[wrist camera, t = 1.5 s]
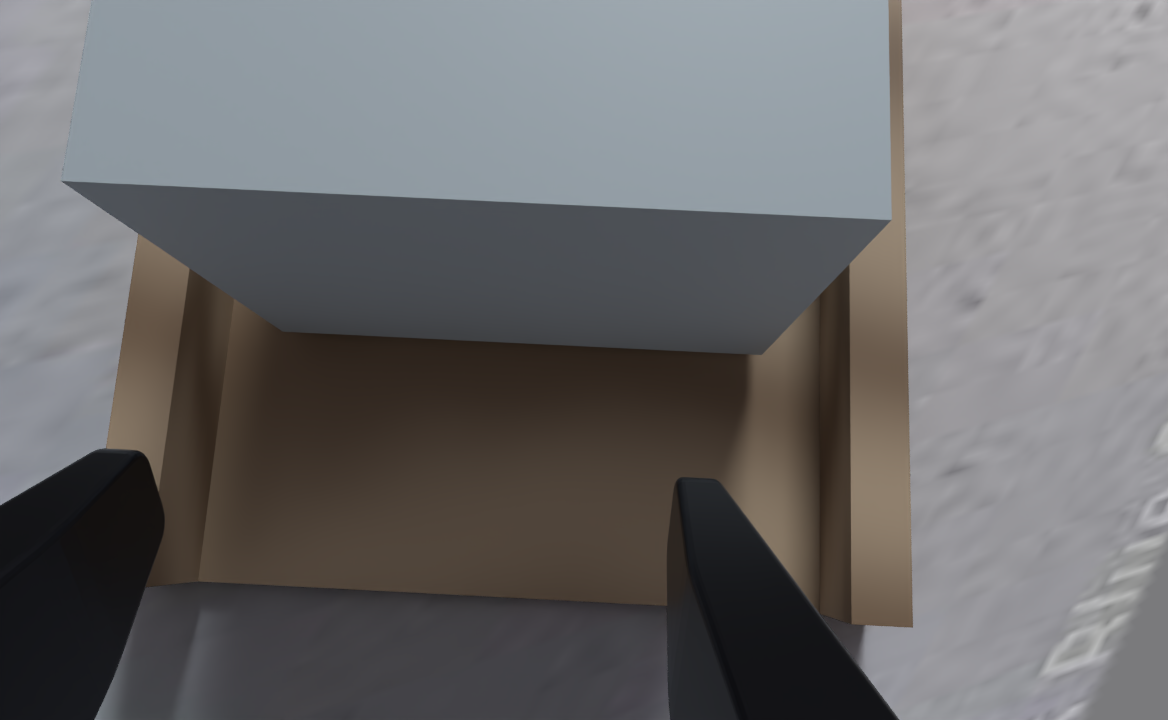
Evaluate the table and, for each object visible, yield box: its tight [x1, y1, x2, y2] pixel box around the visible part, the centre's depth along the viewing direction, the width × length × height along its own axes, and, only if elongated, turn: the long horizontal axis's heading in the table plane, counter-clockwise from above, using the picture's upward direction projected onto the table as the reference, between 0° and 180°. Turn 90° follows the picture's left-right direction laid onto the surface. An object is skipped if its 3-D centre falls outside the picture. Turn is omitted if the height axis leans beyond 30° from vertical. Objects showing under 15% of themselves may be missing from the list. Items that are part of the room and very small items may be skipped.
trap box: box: [106, 0, 913, 627], centre depth 21 cm, size 23×16×5 cm
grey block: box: [61, 0, 892, 355], centre depth 17 cm, size 5×11×9 cm, turn 87°
